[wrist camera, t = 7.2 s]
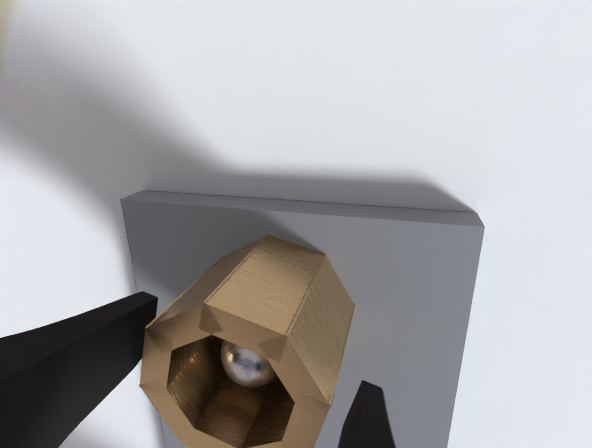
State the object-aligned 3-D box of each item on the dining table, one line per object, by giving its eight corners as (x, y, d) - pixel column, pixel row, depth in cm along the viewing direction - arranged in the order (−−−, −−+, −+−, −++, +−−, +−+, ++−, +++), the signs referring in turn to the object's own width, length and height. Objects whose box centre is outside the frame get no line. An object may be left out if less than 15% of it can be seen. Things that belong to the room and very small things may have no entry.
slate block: (420, 561, 20) (421, 595, 19) (191, 492, 24) (178, 517, 22) (476, 212, 13) (484, 227, 12) (143, 190, 17) (120, 199, 16)
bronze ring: (261, 374, 17) (207, 480, 12) (193, 270, 16) (108, 343, 11) (375, 339, 15) (360, 454, 10) (304, 216, 14) (253, 280, 9)
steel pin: (273, 333, 16) (232, 409, 12) (246, 291, 15) (196, 355, 12) (317, 318, 15) (287, 394, 11) (290, 272, 15) (250, 335, 11)
